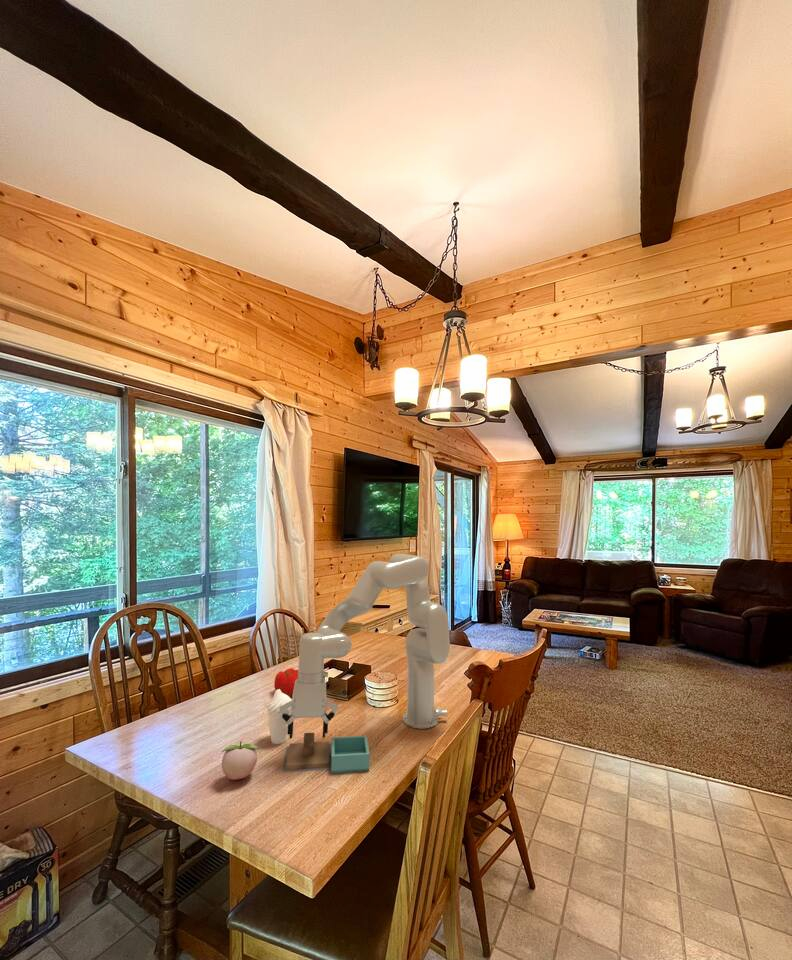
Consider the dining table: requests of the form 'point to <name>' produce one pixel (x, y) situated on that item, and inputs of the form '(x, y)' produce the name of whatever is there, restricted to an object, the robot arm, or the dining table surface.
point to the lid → (308, 754)
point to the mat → (305, 769)
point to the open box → (349, 754)
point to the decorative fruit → (239, 760)
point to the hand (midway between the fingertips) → (307, 736)
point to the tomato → (286, 681)
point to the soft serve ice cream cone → (278, 717)
